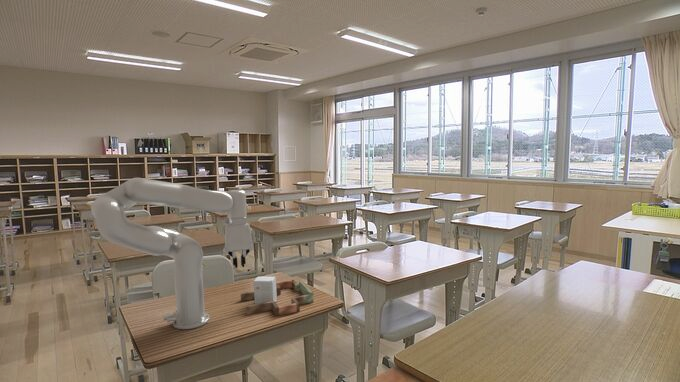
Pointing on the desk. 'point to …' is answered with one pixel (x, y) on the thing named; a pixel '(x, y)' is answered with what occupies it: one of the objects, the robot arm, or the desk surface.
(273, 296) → the small box
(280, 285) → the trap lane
